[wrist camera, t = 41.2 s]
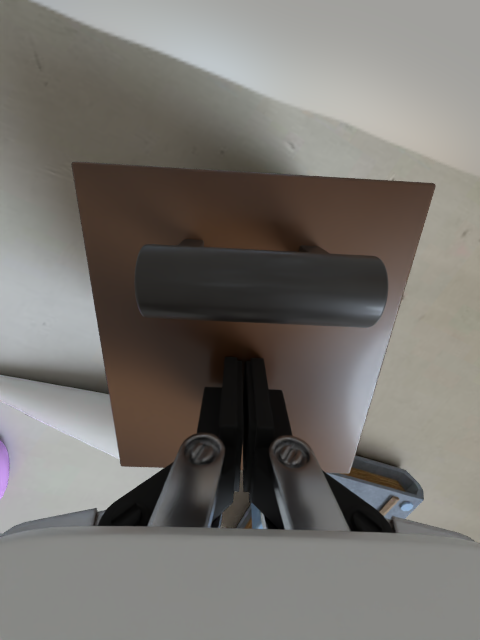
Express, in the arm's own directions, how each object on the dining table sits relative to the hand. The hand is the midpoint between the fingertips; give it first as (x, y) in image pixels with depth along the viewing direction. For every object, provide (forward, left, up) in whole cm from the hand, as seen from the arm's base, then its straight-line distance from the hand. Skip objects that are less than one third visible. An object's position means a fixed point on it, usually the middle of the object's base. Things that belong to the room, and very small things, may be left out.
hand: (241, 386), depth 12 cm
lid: (-1, 0, -1) cm, 2 cm away
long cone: (+12, -18, -15) cm, 26 cm away
